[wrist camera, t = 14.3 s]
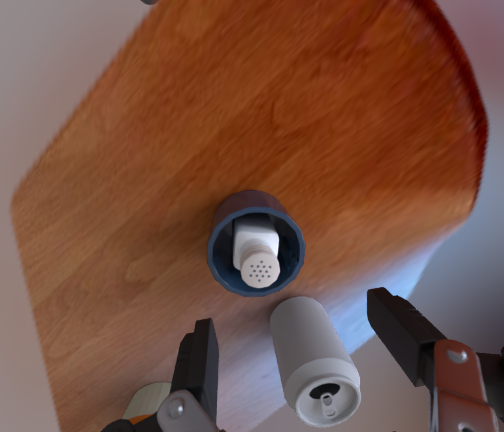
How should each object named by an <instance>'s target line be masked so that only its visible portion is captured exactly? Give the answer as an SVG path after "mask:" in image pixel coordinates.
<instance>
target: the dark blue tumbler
mask: <svg viewBox="0 0 504 432" xmlns="http://www.w3.org/2000/svg"><path fill="white" fill-rule="evenodd" d="M244 214H262V215H267V216H269V217H270V219H271V221H272V223H273V226H274V228H275V230H276V232H277V234H278V237H279V244H278V254H277V259H278V262H279V268H280V273H279V275H278V277H277V280H276V281H275V282H273V283H272V284H271V285H269V286H268V287H263V288H256V287H252V286H249V285H248V284H247V283H246V282H245V281H244V280H243V279H242V276H241V271H240V270H238V269H237V268H235V266H234V264H233V231H234V218H236V217H239V216H242V215H244ZM305 249H306V245H305V242H304V238H303V235H302V232H301V229H300V228H299V226H298V225H297V224H296V222H295V221H294V220H293V218H292V217H291V215H290V214H289V213H288V211H287V210H286V209H285V208H284V207H283V205H282V204H281V203H280V202H279V201H278V200H277V199H276V198H275V197H273V196H272V195H270V194H268V193H265V192H262V191H257V190H246V191H241V192H238V193H235V194H233V195H231V196H229V197H228V198H227V199H225V200H224V201H223V202H222V203H221V204H220V206H219V207H218V208H217V210H216V212H215V214H214V217H213V219H212V222H211V227H210V232H209V238H208V243H207V264H208V266H209V268H210V270H211V272H212V275H213V277H214V279H215V280H216V281H217V282H219V283H220V284H221V285H222V286H223V287H224V288H226V289H227V290H228V291H230V292H233V293H236V294H239V295H241V296H244V297H263V296H266V295H269V294H272V293H275V292H278V291H280V290H282V289H283V288H284V287H285V286H287V285H288V284H289V283H290V282H292V281H293V280H294V279H295V278H296V276H297V274H298V273H299V271H300V269H301V267H302V266H303V264H304V257H305Z"/></svg>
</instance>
